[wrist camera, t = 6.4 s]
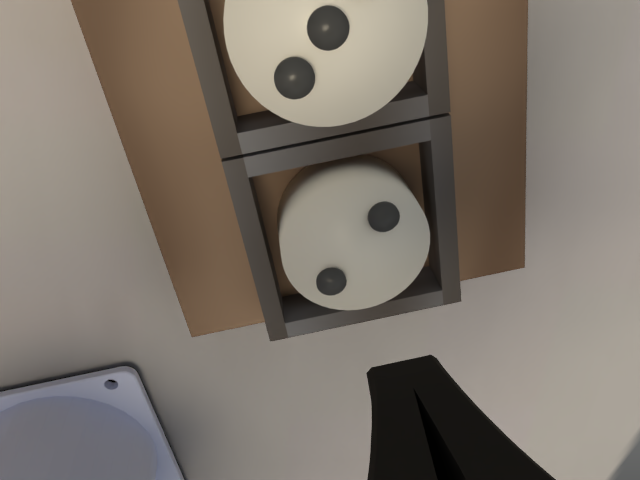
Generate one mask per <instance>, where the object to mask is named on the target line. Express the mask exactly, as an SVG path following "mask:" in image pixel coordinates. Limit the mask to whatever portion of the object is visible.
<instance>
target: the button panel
mask: <svg viewBox="0 0 640 480" xmlns="http://www.w3.org/2000/svg"><path fill="white" fill-rule="evenodd" d="M71 2H72V5H73V8H74V10H75V13H76V16H77V19H78V22H79V24H80V27H81V30H82V33H83V35H84V38H85V41H86V44H87V47H88V49H89V52H90V55H91V58H92V61H93V63H94V66H95V69H96V72H97V74H98V77H99V80H100V83H101V86H102V88H103V91H104V94H105V97H106V100H107V102H108V105H109V108H110V111H111V113H112V116H113V119H114V122H115V125H116V127H117V130H118V133H119V136H120V139H121V141H122V144H123V147H124V150H125V152H126V155H127V158H128V161H129V164H130V166H131V169H132V172H133V175H134V178H135V180H136V183H137V186H138V189H139V191H140V194H141V197H142V200H143V203H144V205H145V208H146V211H147V214H148V217H149V219H150V222H151V225H152V228H153V230H154V233H155V236H156V239H157V242H158V244H159V247H160V250H161V253H162V256H163V258H164V261H165V264H166V267H167V269H168V272H169V275H170V278H171V281H172V283H173V286H174V289H175V292H176V294H177V297H178V300H179V303H180V306H181V308H182V311H183V314H184V317H185V320H186V322H187V325H188V328H189V331H190V333H191V336H192V337H195V336H200V335H205V334H209V333H214V332H219V331H224V330H228V329H233V328H238V327H243V326H248V325H252V324H257V323H262V322H265V323H266V327H267V331H268V334H269V338H270V341H275V340H280V339H285V338H289V337H294V336H299V335H304V334H308V333H313V332H318V331H323V330H327V329H332V328H337V327H342V326H346V325H351V324H356V323H361V322H365V321H370V320H375V319H380V318H384V317H389V316H394V315H399V314H403V313H408V312H413V311H418V310H422V309H427V308H432V307H437V306H441V305H446V304H451V303H456V302H460V301H461V289H460V281H462V280H467V279H472V278H476V277H481V276H486V275H491V274H496V273H500V272H505V271H510V270H515V269H519V268H524V267H525V190H526V109H527V27H528V0H427V5H428V26H427V35H426V39H425V44H424V48H423V51H422V54H421V57H420V59H419V62H418V64H417V66H416V68H415V70H414V72H413V74H412V75H411V77H410V78H409V80H408V81H407V83H406V84H405V86H404V87H403V88H402V89H401V90H400V92H399V93H398V94H397V95H396V96H395V97H394V98H393V99H392V100H391V101H390V102H388V103H387V104H386V105H385V106H383V107H382V108H381V109H379V110H378V111H376V112H374V113H373V114H371V115H369V116H367V117H365V118H363V119H360V120H358V121H355V122H352V123H348V124H345V125H340V126H332V127H315V126H306V125H302V124H298V123H294V122H291V121H289V120H286V119H284V118H282V117H280V116H278V115H276V114H274V113H273V112H271V111H270V110H268V109H267V108H265V107H264V106H263V105H261V104H260V103H259V102H258V101H257V100H256V99H255V98H254V97H253V96H252V95H251V94H250V93H249V91H248V90H247V89H246V88H245V86H244V85H243V84H242V82H241V80H240V79H239V77H238V76H237V74H236V72H235V70H234V67H233V65H232V63H231V61H230V57H229V54H228V51H227V48H226V42H225V36H224V22H223V18H224V5H225V0H71ZM361 154H366V155H370V156H373V157H376V158H378V159H381V160H382V161H384V162H386V163H388V164H389V165H390V166H392V167H393V168H394V169H395V170H396V171H397V172H398V173H399V174H400V175H401V176H402V178H403V179H404V181H405V182H406V184H407V185H408V187H409V189H410V190H411V192H412V194H413V195H414V197H415V198H416V200H417V202H418V203H419V205H420V207H421V208H422V210H423V212H424V214H425V216H426V218H427V222H428V225H429V230H430V246H429V252H428V255H427V259H426V261H425V263H424V266H423V268H422V269H421V271H420V273H419V274H418V276H417V277H416V278H415V279H414V281H413V282H412V283H411V284H410V285H409V286H408V287H407V288H406V289H405V290H403V291H402V292H401V293H400V294H398V295H397V296H395V297H394V298H392V299H390V300H388V301H386V302H384V303H382V304H379V305H376V306H373V307H370V308H366V309H359V310H337V309H331V308H327V307H324V306H321V305H318V304H316V303H314V302H312V301H310V300H309V299H307V298H305V297H304V296H303V295H302V294H300V293H299V292H298V291H297V290H296V289H295V288H294V287H293V285H292V284H291V282H290V281H289V279H288V277H287V275H286V273H285V271H284V268H283V265H282V259H281V252H280V244H279V235H278V227H277V212H278V206H279V203H280V199H281V197H282V195H283V192H284V191H285V189H286V187H287V186H288V184H289V183H290V182H291V180H292V179H293V178H294V177H295V176H296V175H297V174H298V173H299V172H300V171H301V170H303V169H304V168H305V167H307V166H308V165H313V164H317V163H322V162H327V161H332V160H337V159H342V158H347V157H352V156H357V155H361Z"/></svg>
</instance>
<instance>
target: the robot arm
mask: <svg viewBox="0 0 640 480" xmlns="http://www.w3.org/2000/svg"><path fill="white" fill-rule="evenodd" d="M367 378H368V384H369V390H370V395H371V402H372V433H371V453H370V465H369V473H368V480H556V479H554V478H553V477H552V476H551V475H550V474H548V473H547V472H546V471H545V470H544V469H543V468H541V467H540V466H539V465H538V464H537V463H536V462H535V461H533V460H532V459H531V458H530V457H529V456H528V455H527V454H526V453H524V452H523V451H522V450H521V449H520V448H519V447H518V446H517V445H516V444H515V443H514V442H512V441H511V440H510V439H509V438H508V437H507V436H506V435H505V434H504V433H503V432H502V431H501V430H500V429H499V428H498V427H497V426H496V425H495V424H494V423H493V422H492V421H491V420H490V419H489V418H488V417H487V416H486V415H485V414H484V413H483V412H482V411H481V410H480V409H479V408H478V407H477V406H476V405H475V403H474V402H473V401H472V400H471V399H470V398H469V397H468V396H467V395H466V394H465V392H464V391H463V390H462V389H461V388H460V387H459V386H458V385H457V383H456V382H455V381H454V380H453V379H452V377H451V376H450V375H449V374H448V373H447V371H446V370H445V369H444V368H443V366H442V365H441V364H440V362H439V361H438V360H437V358H435V357H433V356H432V355H428V356H423V357H419V358H414V359H409V360H405V361H400V362H395V363H391V364H386V365H381V366H377V367H372V368H371V369H370V370H369V371H368V372H367ZM108 380H115V381H117V382H115V383H112V382H109V381H108ZM0 480H184V478H183V475H182V473H181V471H180V469H179V466H178V464H177V462H176V459H175V457H174V455H173V453H172V450H171V448H170V446H169V443H168V441H167V439H166V437H165V434H164V432H163V430H162V427H161V425H160V423H159V421H158V418H157V416H156V414H155V411H154V409H153V407H152V405H151V402H150V400H149V398H148V395H147V393H146V391H145V389H144V386H143V384H142V382H141V379H140V377H139V375H138V373H137V371H136V370H135V369H133V368H131V367H128V366H121V367H116V368H111V369H107V370H102V371H97V372H92V373H88V374H83V375H78V376H73V377H69V378H64V379H59V380H54V381H50V382H45V383H40V384H35V385H31V386H26V387H21V388H16V389H12V390H7V391H2V392H0Z"/></svg>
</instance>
